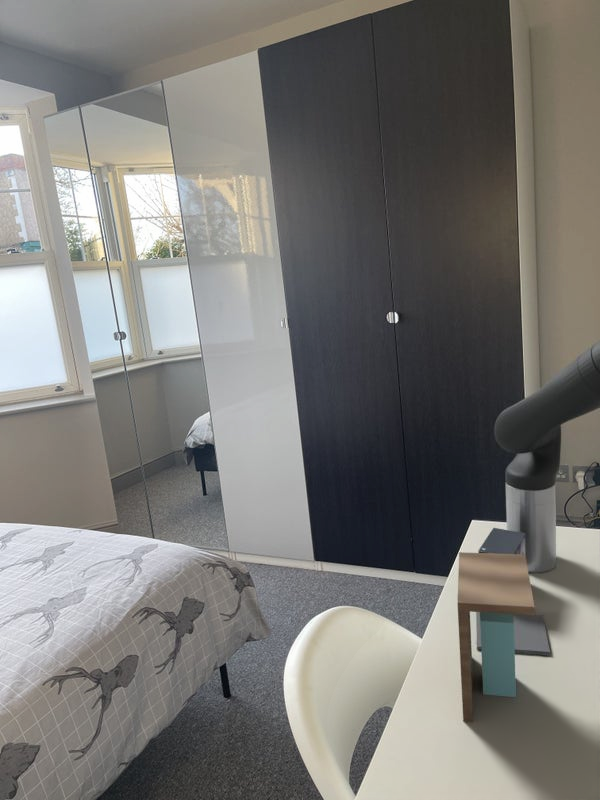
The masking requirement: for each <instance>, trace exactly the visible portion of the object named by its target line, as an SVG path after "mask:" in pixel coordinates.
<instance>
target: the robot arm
mask: <svg viewBox="0 0 600 800" xmlns="http://www.w3.org/2000/svg"><path fill="white" fill-rule="evenodd" d="M599 408H600V340H599V341H597V342H596V343H594V344H593V345H592V346H591V347H589V348H587V350H585V351H584V352H582V353H581V354H580V355H579V356H577V358H575V359H574V360H573V361H572V362H570V363H568V365H567V366H565V367H564V368H563V369H562V370H560V371H559V372H558V373H556V374H555V375H554V376H553V377H552V378H551V379H549V380H548V381H547V382H546V383H545V384H544V385H542V386H541V387H540V388H539V389H538V390H536V391H534V392H533V393H532V394H529V396H527V397H525V398H523V399H521V400H520V401H518V402H516V403H515V404H513V405H510V406H509V407H506V408H505V409H503V411H501V412H500V413H499V415H498V417H497V418H496V421H495V424H494V429H493V431H494V438H495V440H496V443H497V444H498V445H499V446H500V448H502V449H503V450H504V451H506V452H508V453H511V454H515V456H514V458H513V460H512V461H511V462H510V463H509V464H508V465H507V467H506V468H505V473H504V474H505V475H504V476H505V478H504V480H505V509H506V530H509V531H516V532H522V533H525V556H526V562H527V568H528V573H543V572H545V573H546V572H548V571H549V572H550V571H551V570H552V569H554V568H555V567H556V566H557V526H556V524H557V514H556V513H557V512H556V509H557V508H556V503H557V502H556V499H557V497H556V476H557V474H558V472H559V468H560V467H561V466H560V464H561V450H562V449H561V448H562V447H561V446H562V425H563V424H565V423H567V422H569V421H572V420H575V419H577V418H579V417H582V416H584V415H586V414H589V413H591V412H593V411H595V410H598V409H599Z"/></svg>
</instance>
